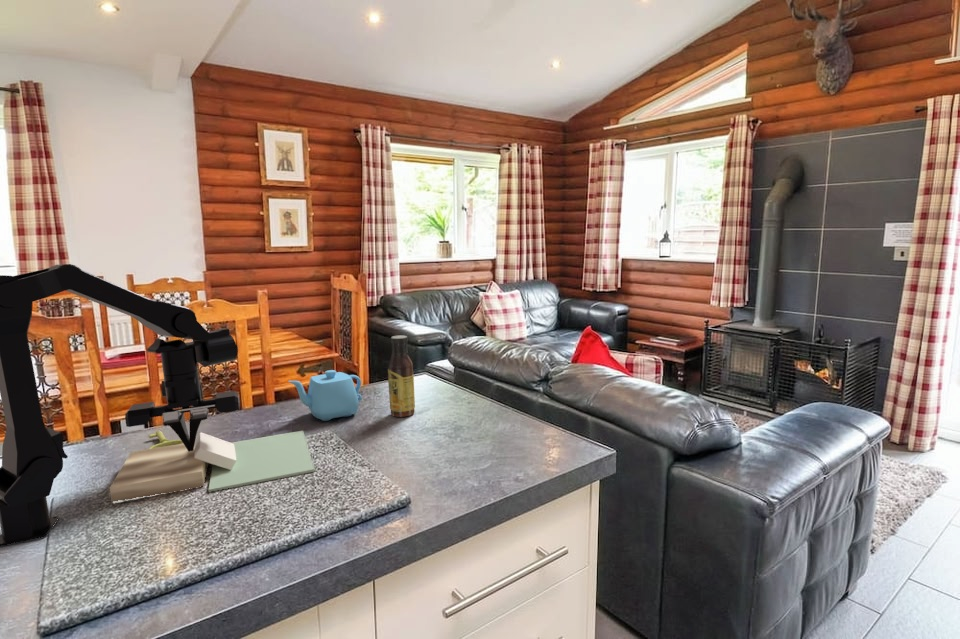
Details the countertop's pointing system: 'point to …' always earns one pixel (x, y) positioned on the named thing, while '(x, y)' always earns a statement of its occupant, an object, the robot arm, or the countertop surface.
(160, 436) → the key
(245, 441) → the mat
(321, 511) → the countertop surface
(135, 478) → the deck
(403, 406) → the sauce bottle
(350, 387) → the teapot
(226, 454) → the white flat block
